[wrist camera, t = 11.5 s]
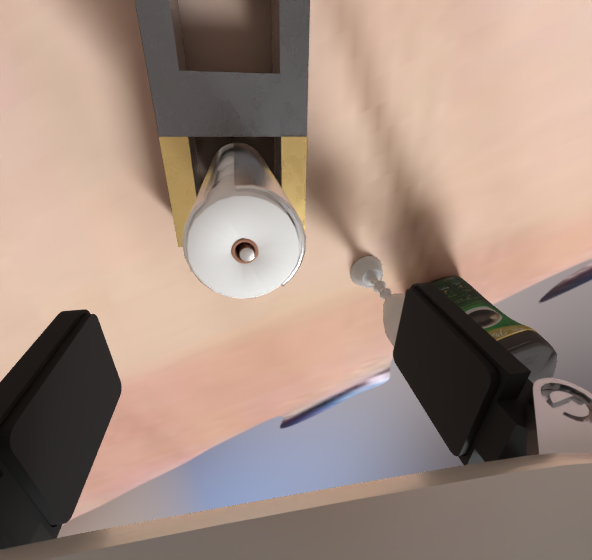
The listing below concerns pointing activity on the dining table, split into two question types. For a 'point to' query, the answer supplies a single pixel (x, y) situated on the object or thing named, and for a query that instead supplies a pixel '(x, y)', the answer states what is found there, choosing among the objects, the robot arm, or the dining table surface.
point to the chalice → (370, 275)
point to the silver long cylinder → (242, 227)
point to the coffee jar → (503, 328)
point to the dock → (227, 101)
